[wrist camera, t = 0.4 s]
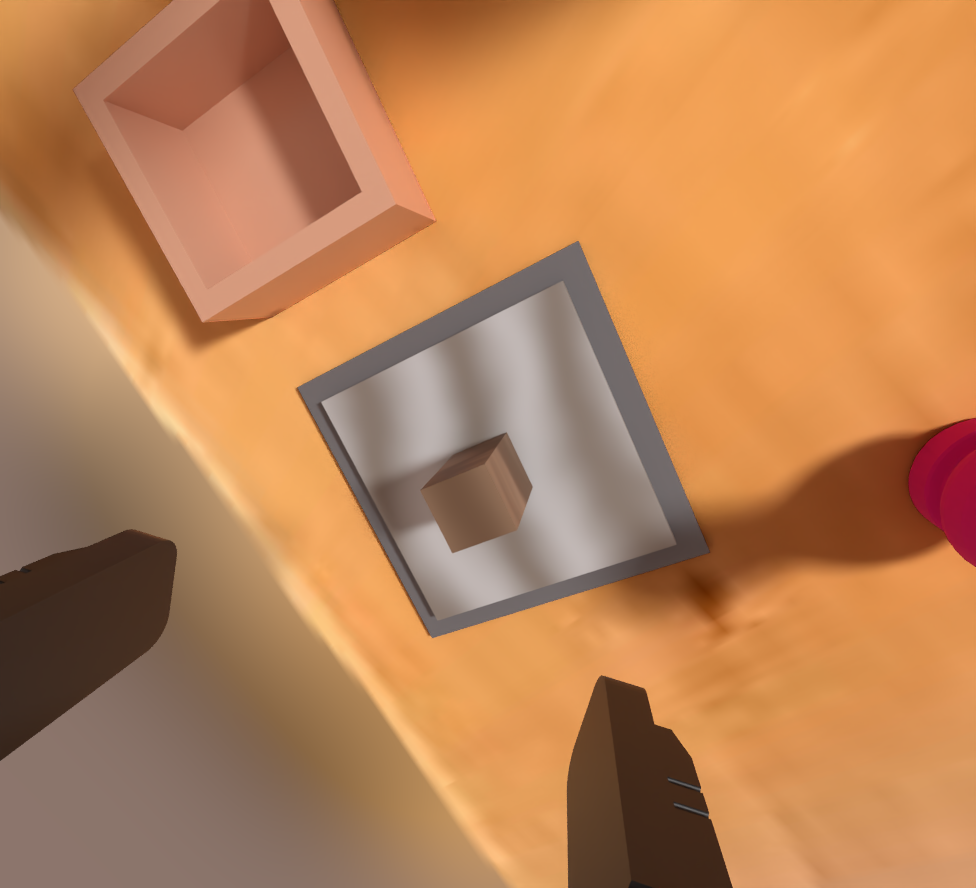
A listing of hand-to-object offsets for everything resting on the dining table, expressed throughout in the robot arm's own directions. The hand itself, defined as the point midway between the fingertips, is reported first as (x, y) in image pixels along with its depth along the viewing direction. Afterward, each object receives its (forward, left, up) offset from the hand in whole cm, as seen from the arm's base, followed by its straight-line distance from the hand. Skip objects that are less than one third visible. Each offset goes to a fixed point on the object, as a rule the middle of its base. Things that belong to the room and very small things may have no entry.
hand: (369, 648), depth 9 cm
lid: (+4, +3, -22) cm, 23 cm away
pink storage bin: (+7, -17, -23) cm, 29 cm away
